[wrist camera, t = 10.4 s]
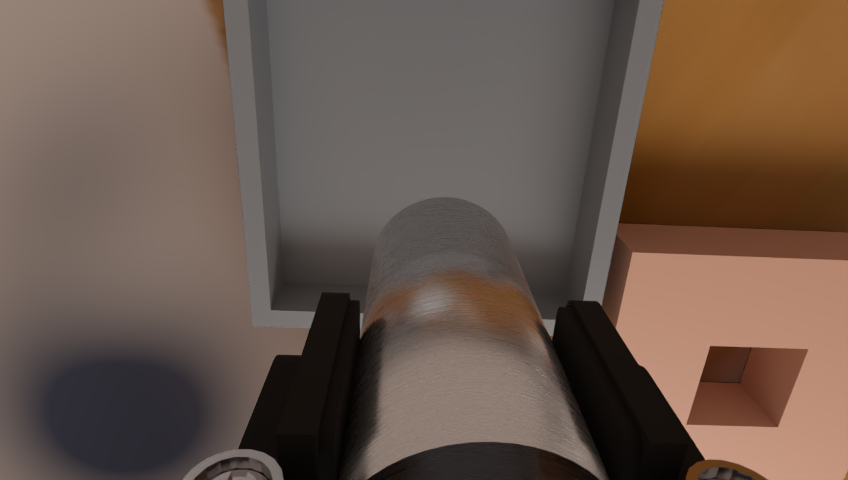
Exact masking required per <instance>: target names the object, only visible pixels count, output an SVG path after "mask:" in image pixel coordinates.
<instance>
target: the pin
mask: <svg viewBox="0 0 848 480" xmlns="http://www.w3.org/2000/svg"><path fill="white" fill-rule="evenodd" d="M338 480H610V479H609V477H608V474H607V472H606V470H605V467H604V465H603V462H602V460H601V458H600V455H599V453H598V451H597V448H596V446H595V443H594V441H593V439H592V436H591V434H590V431H589V429H588V427H587V424H586V422H585V419H584V417H583V415H582V412H581V410H580V408H579V405H578V403H577V400H576V398H575V396H574V393H573V391H572V388H571V386H570V384H569V381H568V379H567V376H566V374H565V372H564V369H563V367H562V365H561V362H560V360H559V357H558V355H557V353H556V350H555V348H554V345H553V343H552V341H551V338H550V336H549V333H548V331H547V329H546V326H545V324H544V322H543V319H542V317H541V314H540V312H539V310H538V307H537V305H536V302H535V300H534V298H533V295H532V293H531V290H530V288H529V286H528V283H527V281H526V279H525V276H524V274H523V271H522V269H521V267H520V264H519V262H518V259H517V257H516V255H515V252H514V250H513V247H512V245H511V243H510V240H509V238H508V236H507V233H506V232H505V230H504V228H503V226H502V225H501V224H500V223H499V221H498V220H497V219H496V218H495V217H494V216H493V215H492V214H491V213H490V212H488V211H487V210H485V209H484V208H482V207H481V206H479V205H477V204H475V203H472V202H470V201H467V200H463V199H459V198H452V197H436V198H429V199H425V200H422V201H418V202H416V203H414V204H411V205H409V206H407V207H406V208H404V209H402V210H401V211H400V212H398V213H397V214H396V215H394V216H393V217H392V218H391V219H390V220H389V221H388V223H387V224H386V225H385V227H384V228H383V229H382V231H381V233H380V235H379V236H378V239H377V242H376V244H375V248H374V253H373V259H372V265H371V271H370V277H369V283H368V289H367V295H366V302H365V308H364V314H363V320H362V326H361V332H360V343H359V349H358V355H357V362H356V368H355V374H354V380H353V387H352V393H351V399H350V405H349V411H348V418H347V424H346V430H345V436H344V442H343V449H342V455H341V461H340V467H339V474H338Z"/></svg>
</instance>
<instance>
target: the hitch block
mask: <svg viewBox="0 0 848 480" xmlns="http://www.w3.org/2000/svg"><path fill="white" fill-rule="evenodd" d="M602 308H603V310H604V311H605V313H606V314H607V316H608V317H609V319H610V321H611V322H612V324H613V325H614V327H615V328H616V330H617V332H618V333H619V335H620V336H621V338H622V339H623V341H624V343H625V344H626V346H627V347H628V349H629V350H630V352H631V354H632V355H633V357H634V358H635V360H636V361H637V363H638V365H640V366H643V367H644V368H645V369H646V370H647V371H648V372H649V374H650V375H651V377H652V378H653V380H654V381H655V383H656V385H657V386H658V388H659V389H660V391H661V392H662V394H663V395H664V397H665V398H666V400H667V401H668V403H669V405H670V406H671V408H672V409H673V411H674V412H675V414H676V415H677V417H678V418H679V420H680V421H681V423H682V425H683V426H684V428H685V429H686V431H687V432H688V434H689V435H690V437H691V438H692V440H693V441H694V443H695V444H696V446H697V448H698V449H699V451H700V452H701V454H702V455H703V457H704V458H705V460H708V459H711V460H725V461H729V462H732V463H736V464H740V465H742V466H744V467H746V468H749V469H751V470H753V471H755V472H757V473H758V474H760V475H762V476H763V477H765V478H766V479H768V480H843V479H844V477H845V475H846V472H847V470H848V232H826V231H801V230H775V229H750V228H725V227H699V226H674V225H648V224H623V223H618V228H617V233H616V238H615V243H614V247H613V252H612V257H611V262H610V267H609V272H608V277H607V282H606V287H605V292H604V296H603V301H602ZM710 346H729V347H752V348H751V351H750V354H749V357H748V360H747V363H746V366H745V369H744V372H743V375H742V378H741V380H740V383H720V382H699V381H700V378H701V375H702V372H703V368H704V365H705V362H706V358H707V355H708V352H709V349H710Z"/></svg>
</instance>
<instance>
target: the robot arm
mask: <svg viewBox="0 0 848 480" xmlns="http://www.w3.org/2000/svg"><path fill="white" fill-rule="evenodd" d="M359 343H360V301H359V300H350V293H335V292H322V294H321V297H320V300H319V303H318V306H317V309H316V312H315V315H314V318H313V321H312V324H311V327H310V330H309V334H308V337H307V340H306V343H305V346H304V349H303V352H302V355H277V356H276V357H275V359H274V361H273V363H272V365H271V368H270V371H269V373H268V376H267V378H266V380H265V383H264V386H263V388H262V391H261V393H260V396H259V398H258V401H257V403H256V406H255V408H254V411H253V413H252V416H251V418H250V421H249V423H248V426H247V428H246V431H245V433H244V436H243V438H242V441H241V443H240V446H239V448H238V449H235V450H231V451H226V452H222V453H219V454H217V455H215V456H212V457H210V458H208V459H205V460H204V461H203V462H201V463H200V464H198V465H197V466H195V467H194V468H193V469H191V470H190V472H189V473H188V474H187V475H186V476H185V477H184V479H183V480H338V474H339V467H340V461H341V455H342V449H343V442H344V436H345V430H346V424H347V418H348V411H349V405H350V399H351V393H352V387H353V380H354V374H355V368H356V362H357V355H358V349H359ZM552 343H553V345H554V348H555V350H556V353H557V355H558V357H559V360H560V362H561V365H562V367H563V369H564V372H565V374H566V376H567V379H568V381H569V384H570V386H571V388H572V391H573V393H574V396H575V398H576V400H577V403H578V405H579V408H580V410H581V412H582V415H583V417H584V419H585V422H586V424H587V427H588V429H589V431H590V434H591V436H592V439H593V441H594V443H595V446H596V448H597V451H598V453H599V455H600V458H601V460H602V462H603V465H604V467H605V470H606V472H607V474H608V477H609V479H610V480H768V479H766V478H765V477H763V476H762V475H760V474H758V473H757V472H755V471H753V470H751V469H749V468H746V467H744V466H742V465H740V464H736V463H732V462H729V461H725V460H711V459H708V460H705V458H704V457H703V455H702V454H701V452H700V451H699V449H698V448H697V446H696V444H695V443H694V441H693V440H692V438H691V437H690V435H689V434H688V432H687V431H686V429H685V428H684V426H683V425H682V423H681V421H680V420H679V418H678V417H677V415H676V414H675V412H674V411H673V409H672V408H671V406H670V405H669V403H668V401H667V400H666V398H665V397H664V395H663V394H662V392H661V391H660V389H659V388H658V386H657V385H656V383H655V381H654V380H653V378H652V377H651V375H650V374H649V372H648V371H647V370H646V369H645V368H644V367H643V366H640V365H638V363H637V361H636V360H635V358H634V357H633V355H632V354H631V352H630V350H629V349H628V347H627V346H626V344H625V343H624V341H623V339H622V338H621V336H620V335H619V333H618V332H617V330H616V328H615V327H614V325H613V324H612V322H611V321H610V319H609V317H608V316H607V314H606V313H605V311H604V310H603V308H602V306H601V305H600V303H599V302H598V301H581V300H569V301H568V303H567V305H566V307H559V308H558V310H557V314H556V320H555V326H554V332H553V338H552Z"/></svg>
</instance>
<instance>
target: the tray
mask: <svg viewBox="0 0 848 480" xmlns="http://www.w3.org/2000/svg"><path fill="white" fill-rule="evenodd" d="M663 2H664V0H223V7H224V18H225V29H226V40H227V51H228V62H229V73H230V84H231V95H232V105H233V117H234V127H235V137H236V150H237V160H238V171H239V182H240V193H241V204H242V215H243V226H244V237H245V248H246V259H247V269H248V280H249V291H250V303H251V314H252V325H253V326H259V327H260V326H261V327H291V328H310V327H311V324H312V321H313V318H314V315H315V312H316V309H317V306H318V303H319V300H320V297H321V294H322V292H335V293H350V300H359V301H360V330H361V326H362V320H363V314H364V308H365V302H366V295H367V289H368V283H369V277H370V271H371V265H372V259H373V253H374V248H375V244H376V242H377V239H378V236H379V235H380V233H381V231H382V229H383V228H384V227H385V225H386V224H387V223H388V221H389V220H390V219H391V218H392V217H393V216H394V215H396V214H397V213H398V212H400V211H401V210H402V209H404V208H406V207H407V206H409V205H411V204H414V203H416V202H418V201H422V200H425V199H429V198H436V197H452V198H459V199H463V200H467V201H470V202H472V203H475V204H477V205H479V206H481V207H482V208H484V209H485V210H487V211H488V212H490V213H491V214H492V215H493V216H494V217H495V218H496V219H497V220H498V221H499V223H500V224H501V225H502V226H503V228H504V230H505V232H506V233H507V236H508V238H509V240H510V243H511V245H512V247H513V250H514V252H515V255H516V257H517V259H518V262H519V264H520V267H521V269H522V271H523V274H524V276H525V279H526V281H527V283H528V286H529V288H530V290H531V293H532V295H533V298H534V300H535V302H536V305H537V307H538V310H539V312H540V314H541V317H542V319H543V322H544V324H545V326H546V329H547V331H548V333H549V336H553V332H554V326H555V320H556V314H557V310H558V308H559V307H566V305H567V303H568V301H569V300H581V301H598V302H599V303H600V305H601V306H602V301H603V296H604V292H605V287H606V282H607V277H608V272H609V267H610V262H611V257H612V252H613V247H614V243H615V238H616V233H617V228H618V223H619V218H620V213H621V208H622V203H623V198H624V194H625V189H626V184H627V179H628V174H629V169H630V164H631V159H632V154H633V149H634V145H635V140H636V135H637V130H638V125H639V120H640V115H641V110H642V105H643V100H644V96H645V91H646V86H647V81H648V76H649V71H650V66H651V61H652V56H653V51H654V47H655V42H656V37H657V32H658V27H659V22H660V17H661V12H662V7H663Z"/></svg>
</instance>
